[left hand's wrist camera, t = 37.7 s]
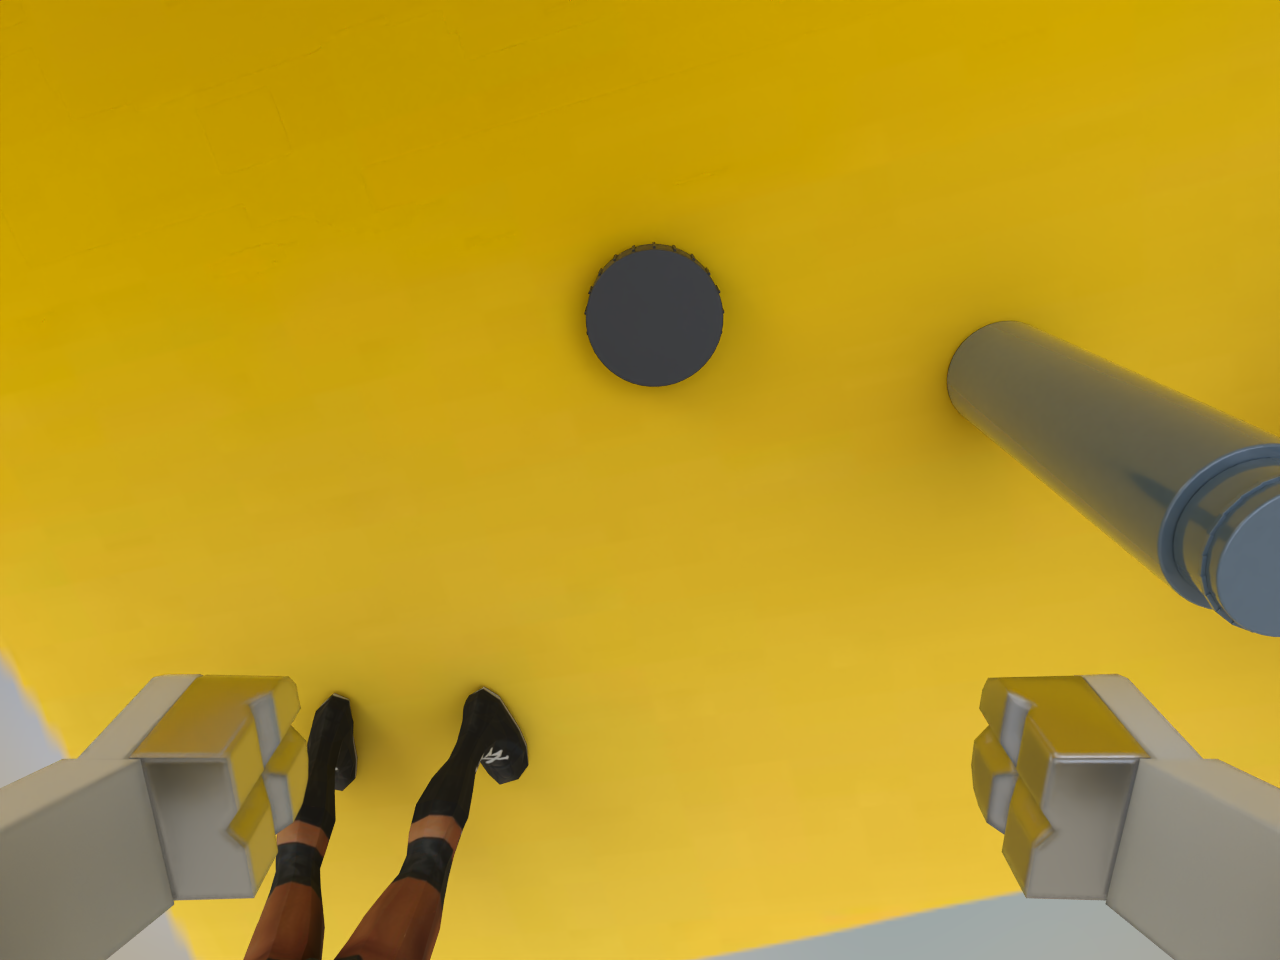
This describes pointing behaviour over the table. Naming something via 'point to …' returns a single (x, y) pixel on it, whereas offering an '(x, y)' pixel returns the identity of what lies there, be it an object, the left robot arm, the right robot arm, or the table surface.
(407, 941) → the figurine
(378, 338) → the table surface
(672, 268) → the lid
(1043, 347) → the jar
